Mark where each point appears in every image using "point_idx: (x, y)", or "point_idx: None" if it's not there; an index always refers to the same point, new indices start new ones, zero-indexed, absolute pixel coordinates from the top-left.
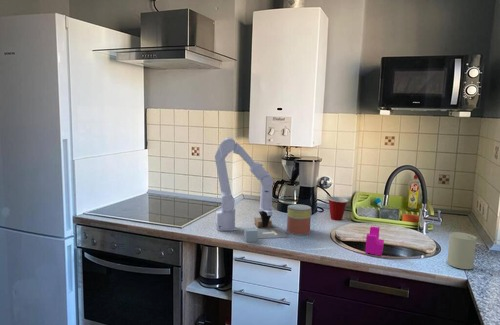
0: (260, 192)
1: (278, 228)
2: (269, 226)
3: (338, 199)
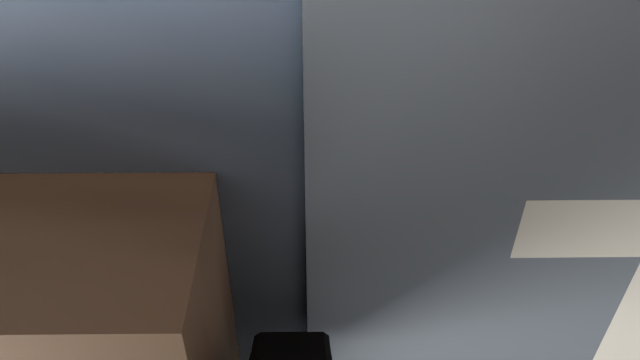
0: None
1: (375, 18)
2: (215, 244)
3: None
